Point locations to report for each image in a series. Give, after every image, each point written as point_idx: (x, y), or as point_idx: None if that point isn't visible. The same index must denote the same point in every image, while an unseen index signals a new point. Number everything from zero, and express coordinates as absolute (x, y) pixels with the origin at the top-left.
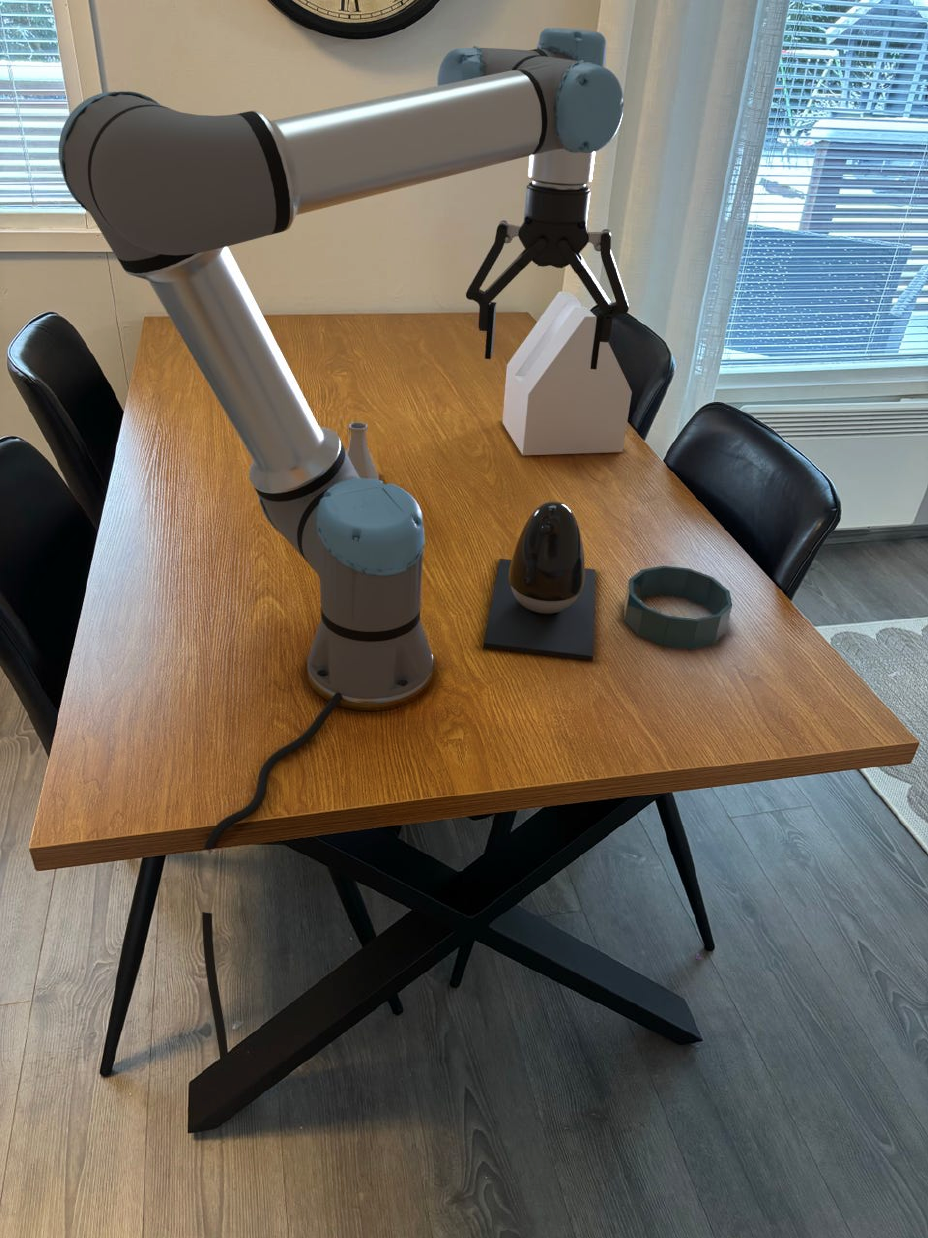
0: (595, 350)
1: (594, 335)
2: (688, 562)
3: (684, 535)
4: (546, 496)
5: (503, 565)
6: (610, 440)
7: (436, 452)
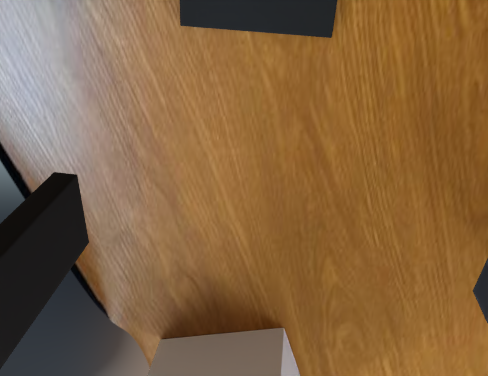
0: (24, 218)
1: (23, 307)
2: (53, 79)
3: (67, 152)
4: (254, 234)
5: (326, 15)
6: (172, 350)
7: (400, 330)
